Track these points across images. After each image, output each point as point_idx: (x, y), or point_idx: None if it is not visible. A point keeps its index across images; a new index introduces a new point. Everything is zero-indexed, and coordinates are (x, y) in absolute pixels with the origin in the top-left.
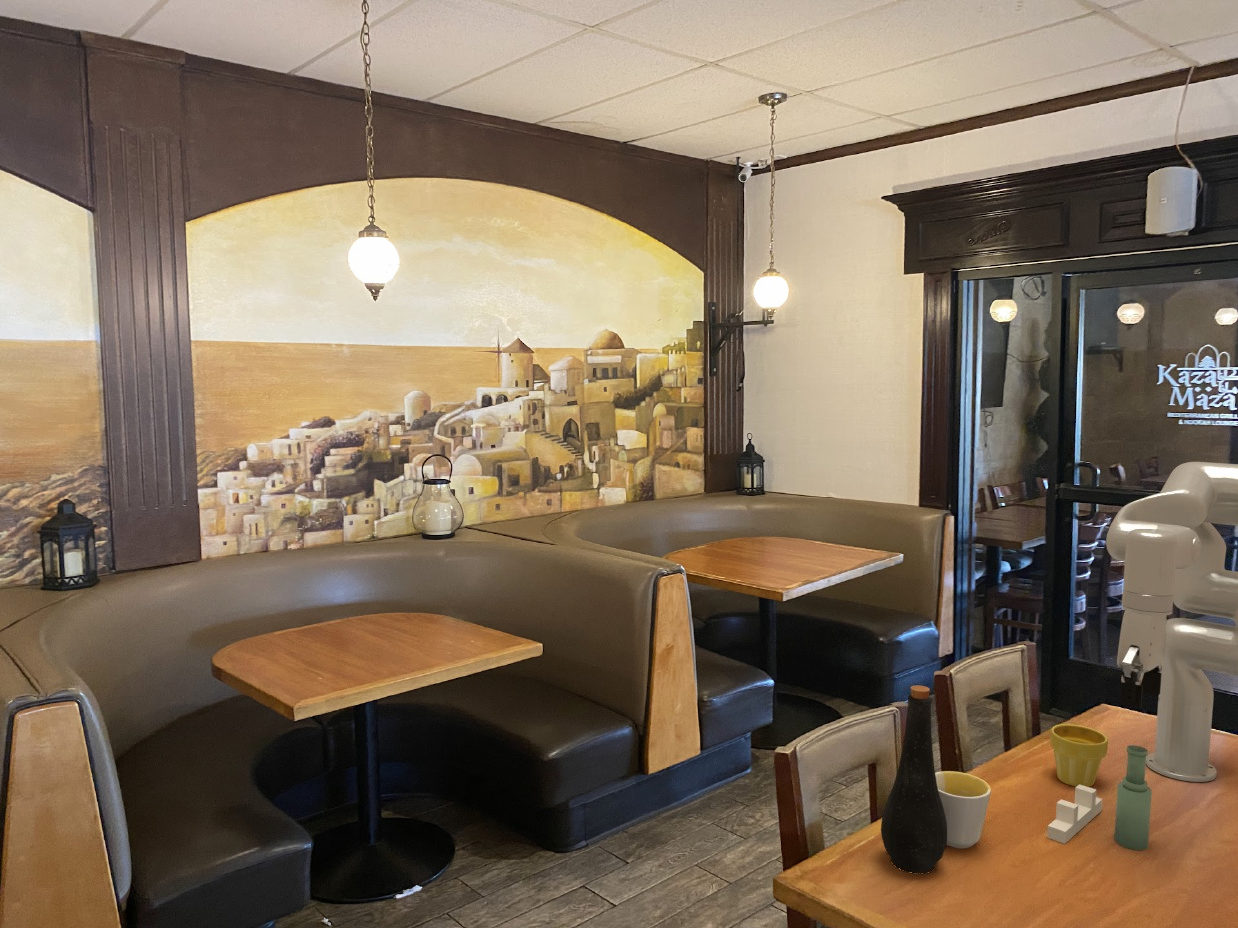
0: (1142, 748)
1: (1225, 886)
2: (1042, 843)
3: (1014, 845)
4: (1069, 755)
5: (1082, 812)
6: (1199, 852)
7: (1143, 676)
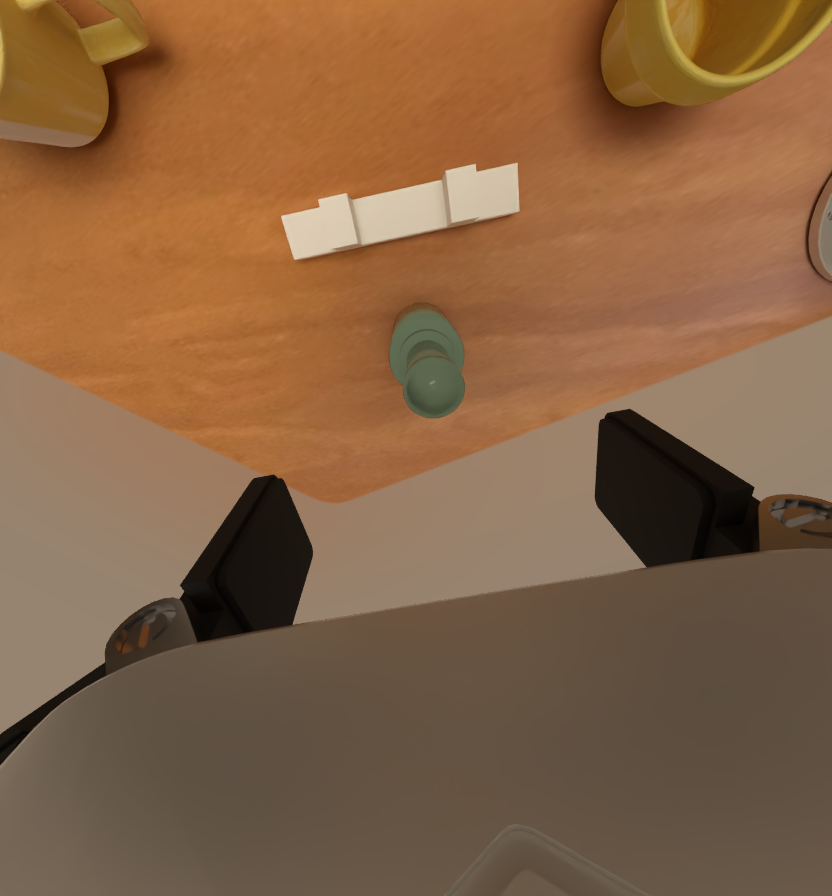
0: (452, 396)
1: (409, 474)
2: (259, 229)
3: (193, 196)
4: (624, 9)
5: (411, 225)
6: (482, 413)
7: (662, 487)
